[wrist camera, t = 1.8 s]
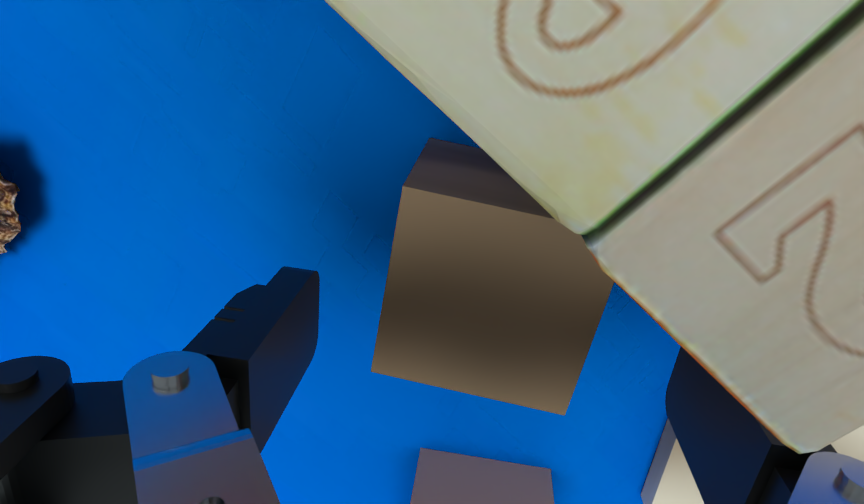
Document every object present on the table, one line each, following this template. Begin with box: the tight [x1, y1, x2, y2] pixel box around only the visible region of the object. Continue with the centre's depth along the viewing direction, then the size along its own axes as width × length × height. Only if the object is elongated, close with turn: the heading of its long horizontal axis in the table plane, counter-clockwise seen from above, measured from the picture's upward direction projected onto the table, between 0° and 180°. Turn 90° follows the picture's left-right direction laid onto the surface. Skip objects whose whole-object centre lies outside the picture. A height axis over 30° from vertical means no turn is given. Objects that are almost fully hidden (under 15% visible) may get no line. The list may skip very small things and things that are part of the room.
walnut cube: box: [371, 138, 614, 415], centre depth 15 cm, size 5×5×5 cm
